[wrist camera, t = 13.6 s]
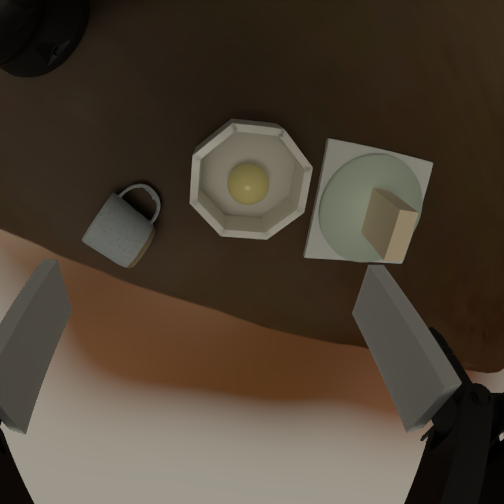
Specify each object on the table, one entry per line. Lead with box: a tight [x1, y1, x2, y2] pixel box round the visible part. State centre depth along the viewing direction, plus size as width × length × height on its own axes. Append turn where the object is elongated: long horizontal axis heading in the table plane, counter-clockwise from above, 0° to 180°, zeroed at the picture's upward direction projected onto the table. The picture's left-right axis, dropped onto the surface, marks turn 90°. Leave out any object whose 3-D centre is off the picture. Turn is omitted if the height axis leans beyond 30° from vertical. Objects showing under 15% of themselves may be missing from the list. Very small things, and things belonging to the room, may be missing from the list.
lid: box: [318, 153, 422, 262], centre depth 40 cm, size 17×17×9 cm
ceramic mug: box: [82, 184, 160, 268], centre depth 39 cm, size 11×8×8 cm
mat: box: [303, 138, 433, 264], centre depth 44 cm, size 18×18×1 cm
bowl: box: [189, 118, 313, 240], centre depth 38 cm, size 14×14×6 cm
